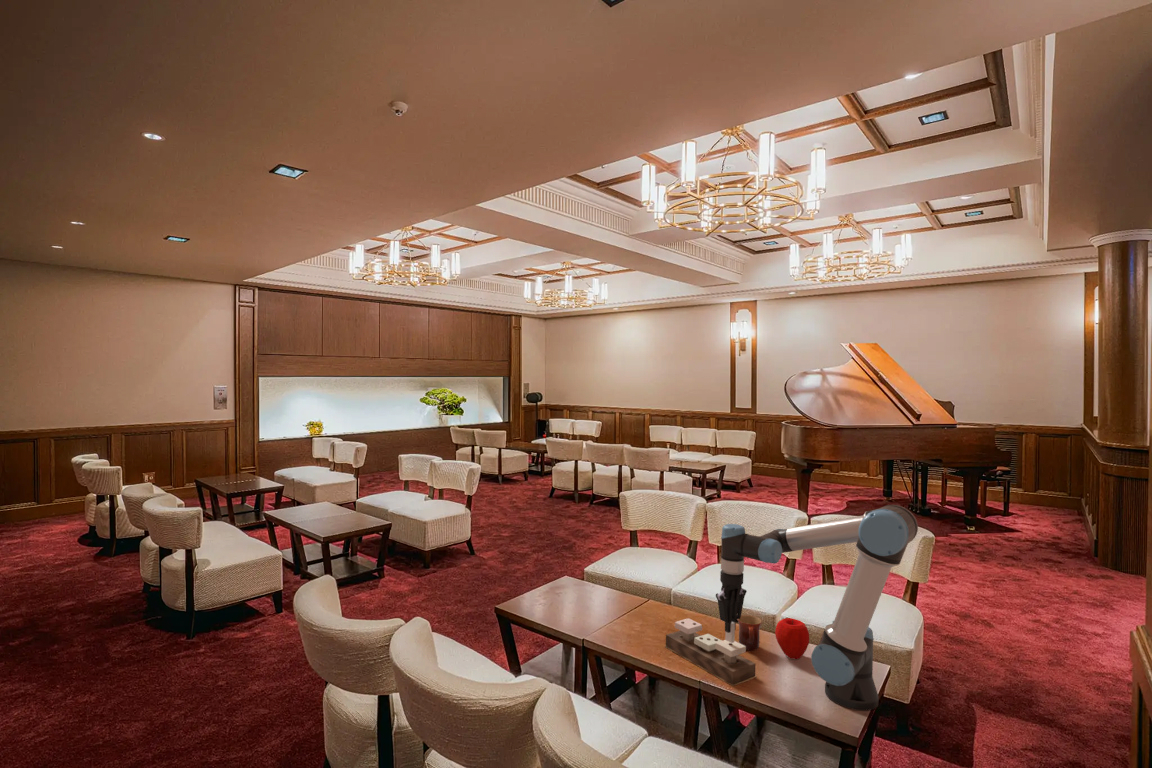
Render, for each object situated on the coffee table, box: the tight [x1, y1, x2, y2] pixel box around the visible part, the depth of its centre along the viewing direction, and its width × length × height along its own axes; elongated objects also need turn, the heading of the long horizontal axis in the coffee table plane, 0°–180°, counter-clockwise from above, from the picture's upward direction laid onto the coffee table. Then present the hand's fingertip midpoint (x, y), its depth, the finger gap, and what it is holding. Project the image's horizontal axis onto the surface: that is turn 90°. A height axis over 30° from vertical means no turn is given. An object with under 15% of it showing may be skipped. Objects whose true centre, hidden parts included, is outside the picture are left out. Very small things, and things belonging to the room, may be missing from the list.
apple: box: [774, 617, 810, 660], centre depth 204 cm, size 12×12×13 cm
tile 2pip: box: [674, 617, 703, 641], centre depth 207 cm, size 7×7×7 cm
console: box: [664, 630, 757, 687], centre depth 199 cm, size 33×12×4 cm, turn 33°
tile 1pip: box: [715, 639, 747, 664], centre depth 191 cm, size 7×7×7 cm
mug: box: [737, 614, 763, 652], centre depth 209 cm, size 12×9×10 cm
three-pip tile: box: [694, 633, 723, 652], centre depth 199 cm, size 7×7×7 cm
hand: (729, 640), depth 191 cm, fingers closed
